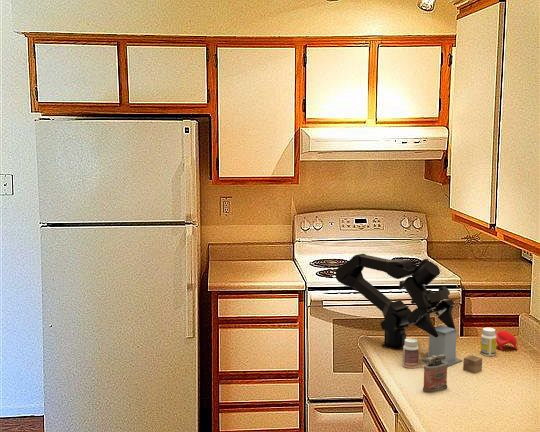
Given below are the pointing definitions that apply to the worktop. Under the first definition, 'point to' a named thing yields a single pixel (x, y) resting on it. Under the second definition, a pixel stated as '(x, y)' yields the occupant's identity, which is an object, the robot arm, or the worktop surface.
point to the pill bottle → (410, 353)
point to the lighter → (435, 374)
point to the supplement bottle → (488, 342)
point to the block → (472, 364)
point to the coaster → (448, 362)
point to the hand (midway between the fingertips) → (446, 333)
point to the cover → (443, 343)
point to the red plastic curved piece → (505, 339)
